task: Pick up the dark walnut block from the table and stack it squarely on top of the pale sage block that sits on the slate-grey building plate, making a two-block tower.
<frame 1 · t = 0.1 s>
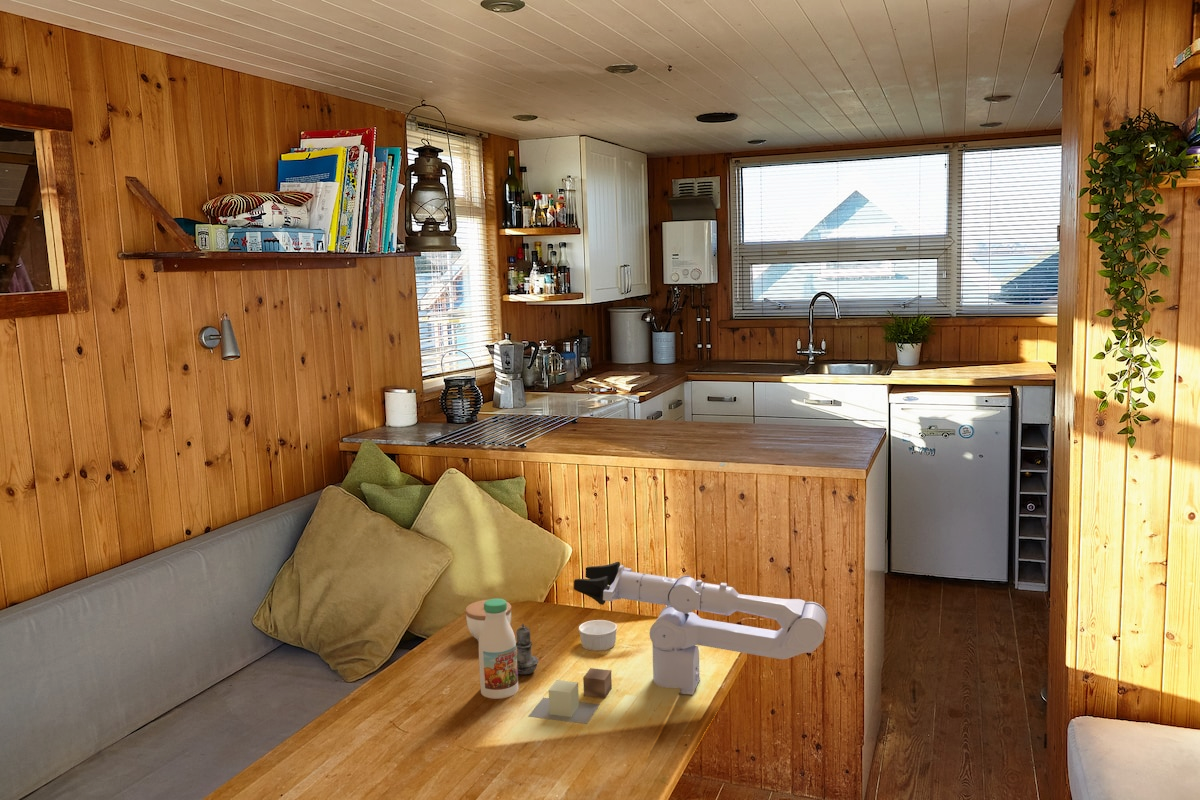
hand: (580, 578, 198), 22 cm above the table, tool horizontal, fingers open, 7 cm apart
ramekin: (598, 645, 217), on the table
sage block: (564, 710, 184), point 1 cm above the table, touching building plate
building plate: (564, 715, 184), on the table
milk bottle: (499, 695, 193), on the table
grey chess piece: (525, 677, 201), on the table
lidded jar: (490, 639, 222), on the table
walnut block: (598, 697, 191), on the table
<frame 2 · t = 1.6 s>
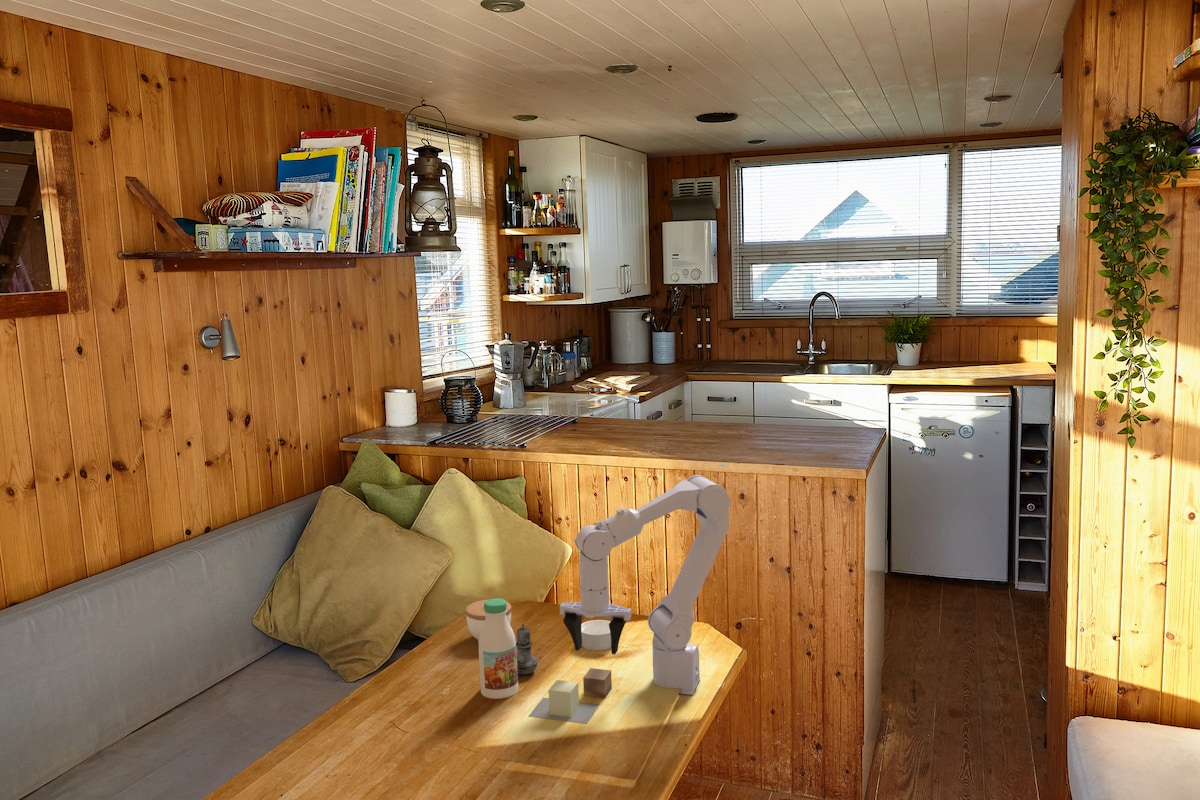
hand: (596, 650, 190), 10 cm above the table, tool pointing down, fingers open, 7 cm apart
nothing on the table moved.
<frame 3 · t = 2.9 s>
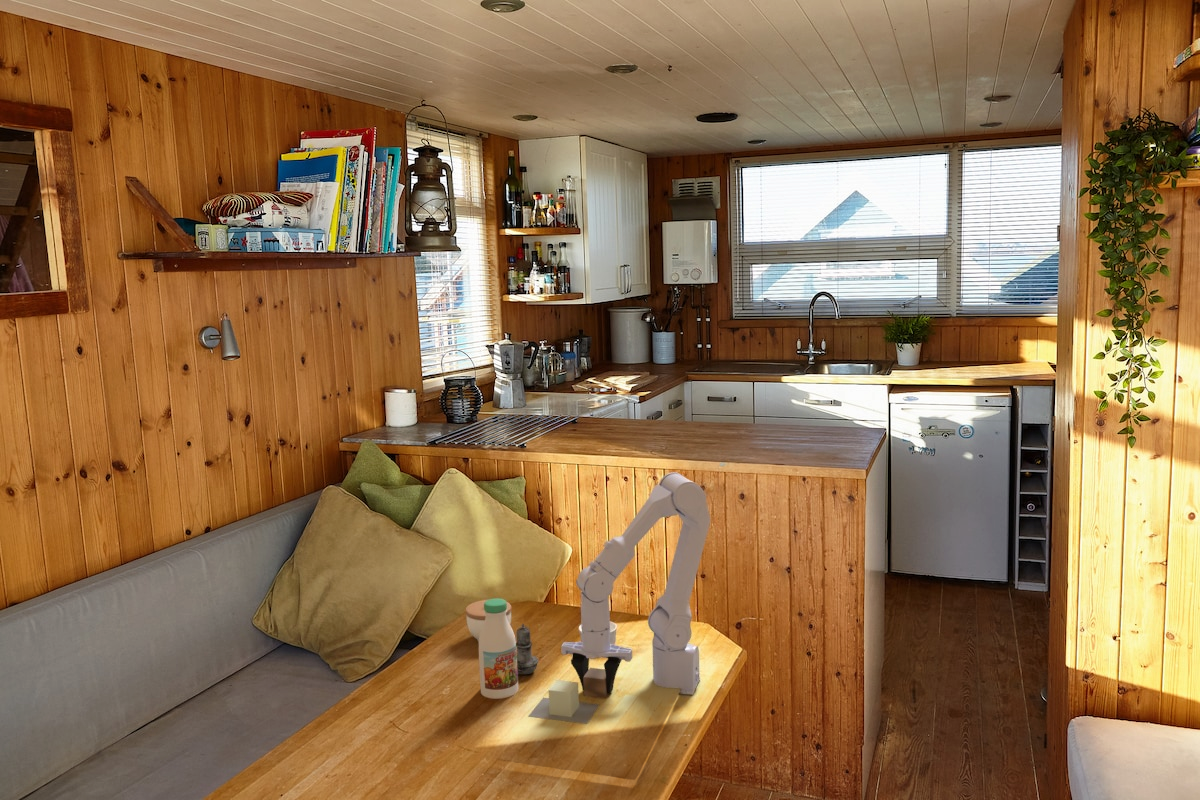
hand: (597, 690, 191), 1 cm above the table, tool pointing down, fingers closed on walnut block, 4 cm apart
walnut block: (598, 696, 191), on the table, touching gripper
everything else where it was.
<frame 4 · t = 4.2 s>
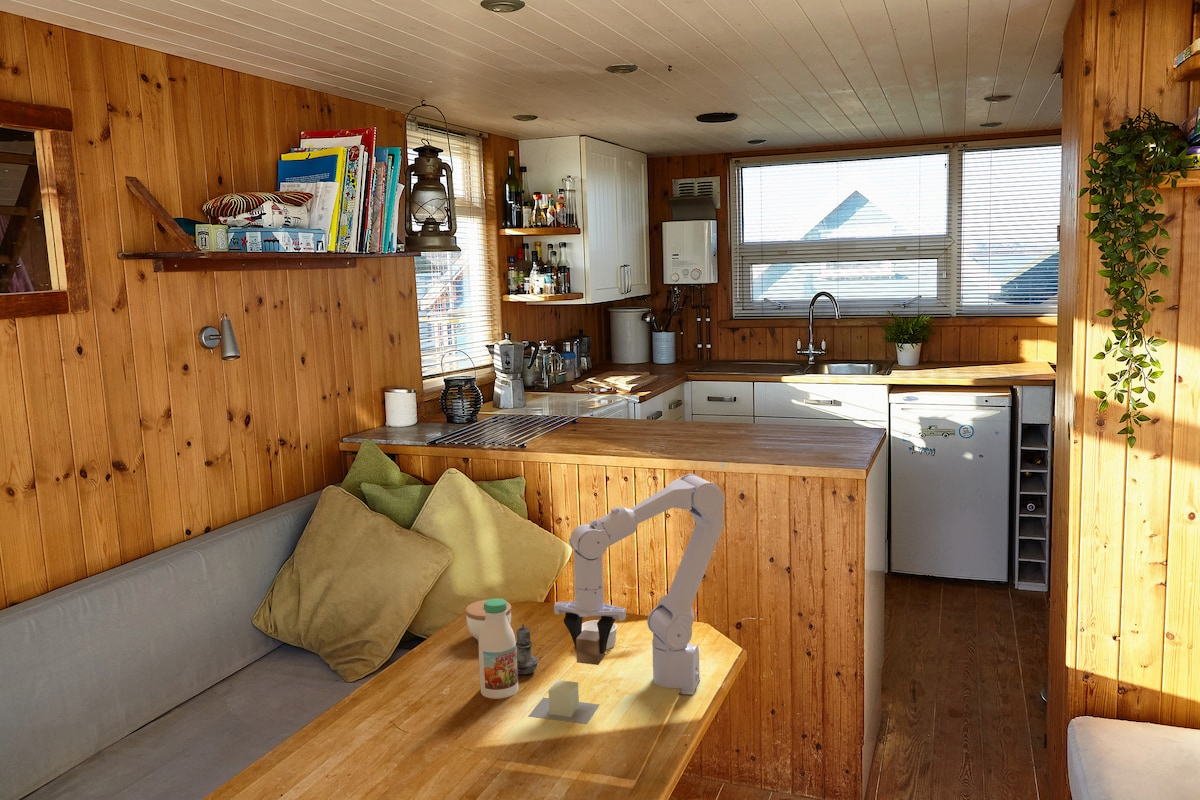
hand: (590, 650, 188), 10 cm above the table, tool pointing down, fingers closed on walnut block, 4 cm apart
walnut block: (591, 659, 189), point 9 cm above the table, touching gripper
everything else where it was.
when the fingers open (8 cm above the table, at t = 5.5 s): walnut block stays where it is, resting on sage block.
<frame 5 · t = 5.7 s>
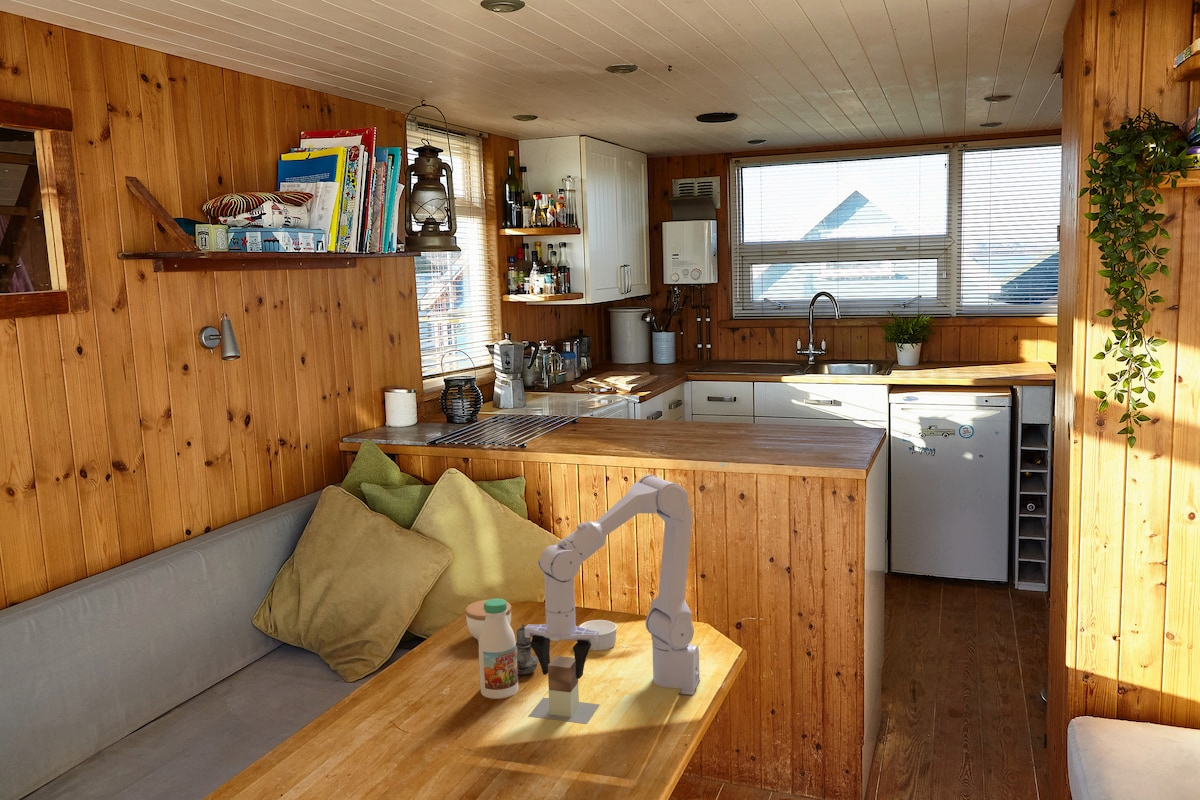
hand: (562, 674, 183), 8 cm above the table, tool pointing down, fingers open, 6 cm apart
sage block: (564, 710, 184), point 1 cm above the table, touching building plate, walnut block
walnut block: (563, 685, 183), point 6 cm above the table, touching sage block
everything else where it was.
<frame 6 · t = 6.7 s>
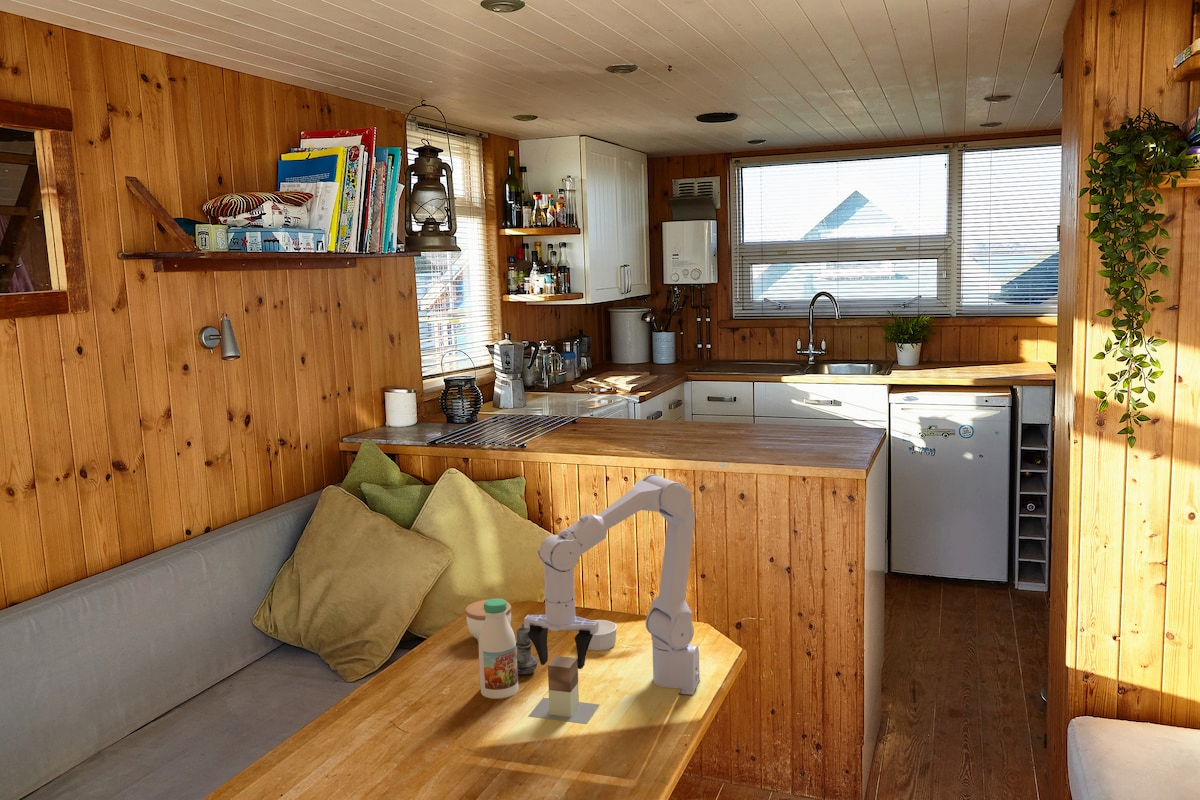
hand: (562, 664, 182), 10 cm above the table, tool pointing down, fingers open, 7 cm apart
nothing on the table moved.
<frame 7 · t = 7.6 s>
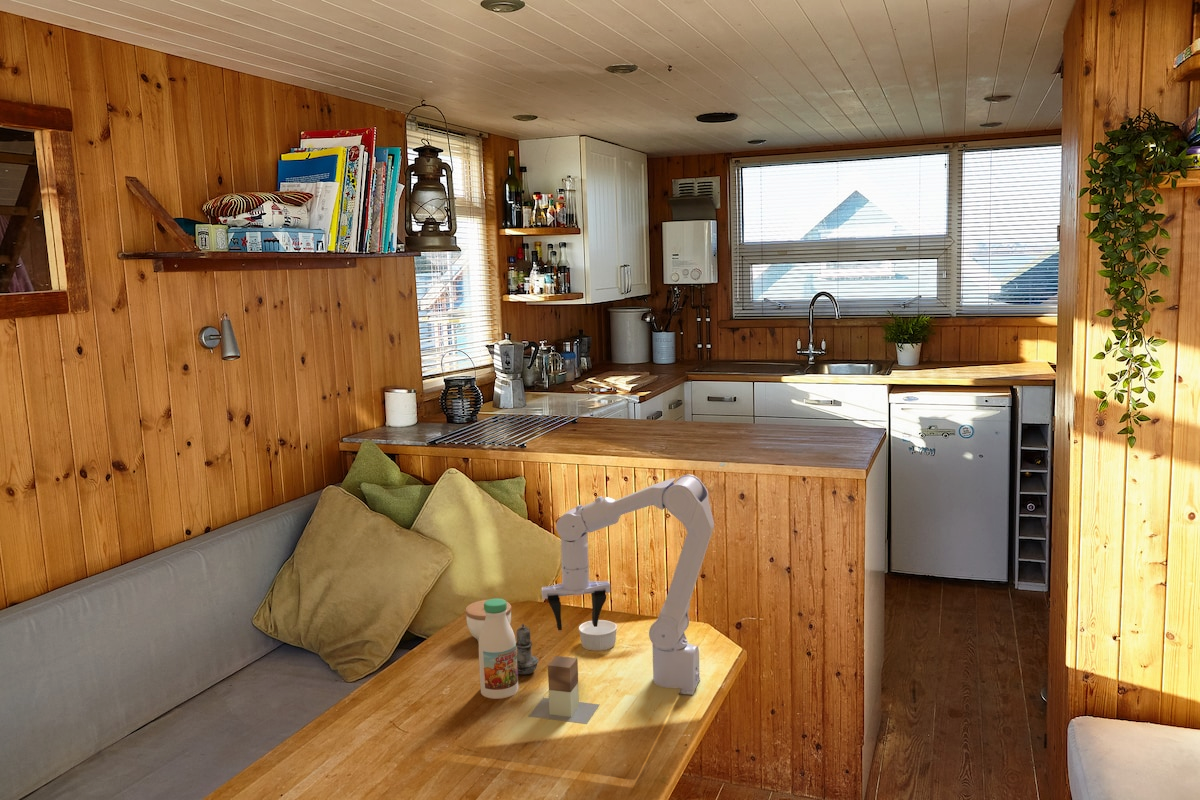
hand: (577, 626, 201), 10 cm above the table, tool pointing down, fingers open, 7 cm apart
nothing on the table moved.
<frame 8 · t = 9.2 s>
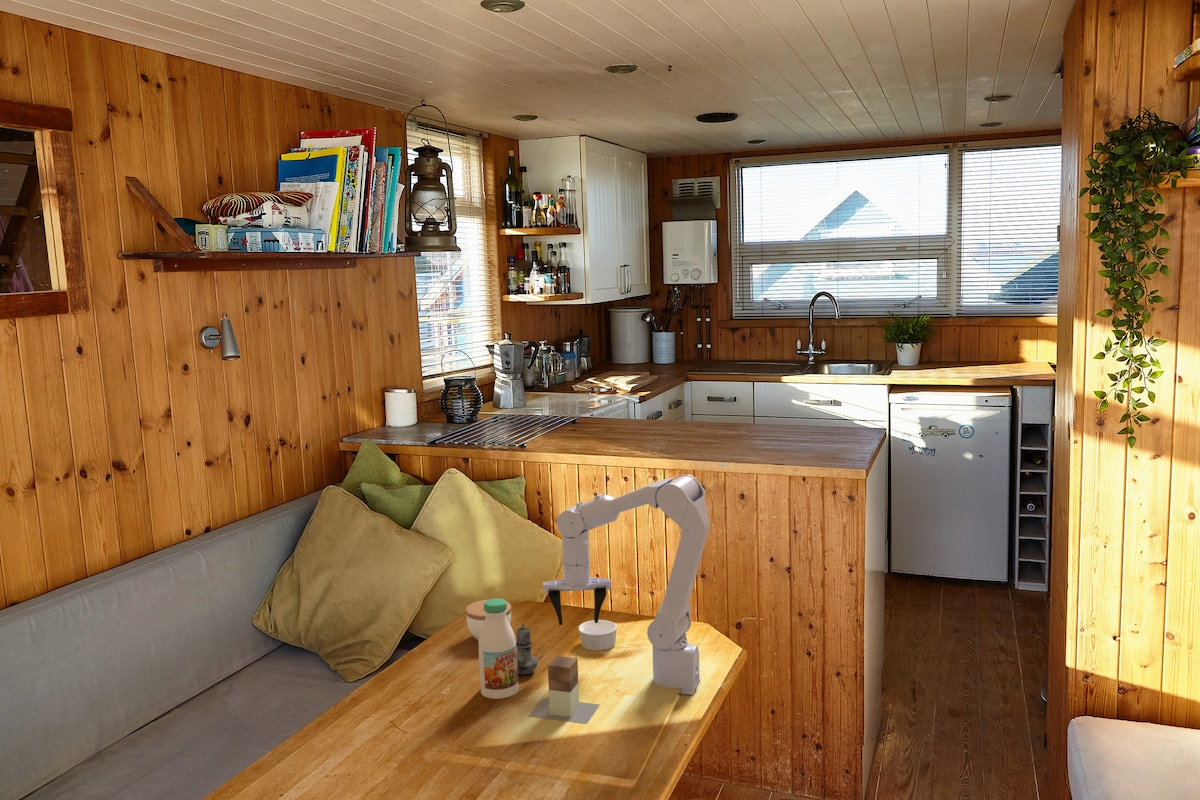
hand: (578, 622, 203), 10 cm above the table, tool pointing down, fingers open, 7 cm apart
nothing on the table moved.
at the end: walnut block 0.1 cm off-centre on the sage block, point 5.0 cm above the sage block's base; walnut block tilted 0°; the gripper is holding nothing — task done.
